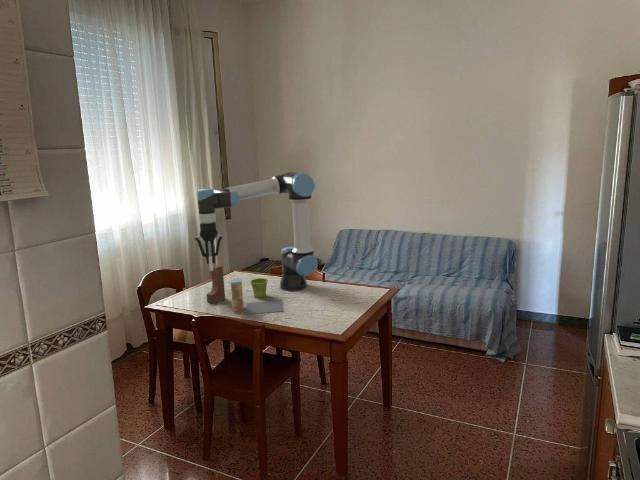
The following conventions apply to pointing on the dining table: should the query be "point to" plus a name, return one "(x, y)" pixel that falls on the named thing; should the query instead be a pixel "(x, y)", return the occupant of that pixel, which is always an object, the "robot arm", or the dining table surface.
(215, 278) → the brown boot
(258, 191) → the robot arm
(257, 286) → the plant pot
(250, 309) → the mat
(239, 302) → the tan jar with lid
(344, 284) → the dining table surface
